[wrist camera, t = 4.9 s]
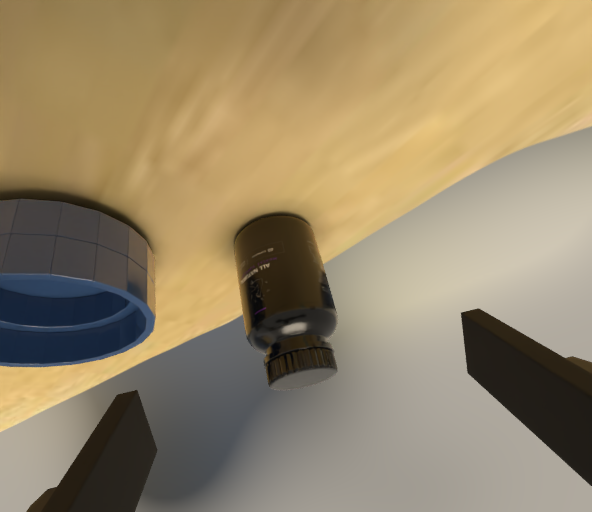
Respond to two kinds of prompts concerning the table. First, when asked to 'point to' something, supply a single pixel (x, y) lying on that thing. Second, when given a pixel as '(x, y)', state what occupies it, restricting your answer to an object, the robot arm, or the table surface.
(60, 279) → the bowl
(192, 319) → the table surface
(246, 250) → the supplement bottle
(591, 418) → the robot arm
